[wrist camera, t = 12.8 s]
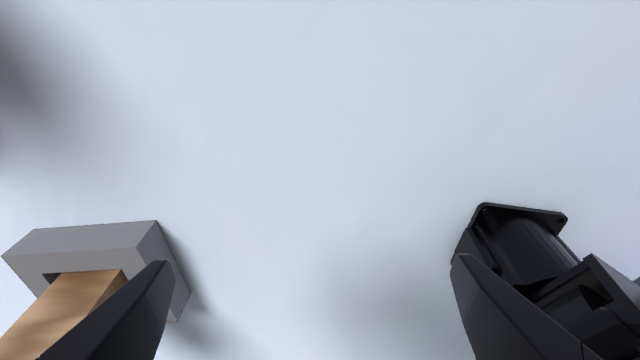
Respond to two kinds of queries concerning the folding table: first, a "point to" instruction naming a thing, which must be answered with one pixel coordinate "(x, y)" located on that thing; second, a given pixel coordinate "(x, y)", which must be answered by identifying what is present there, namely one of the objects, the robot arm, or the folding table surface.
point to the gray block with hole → (94, 255)
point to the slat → (58, 311)
